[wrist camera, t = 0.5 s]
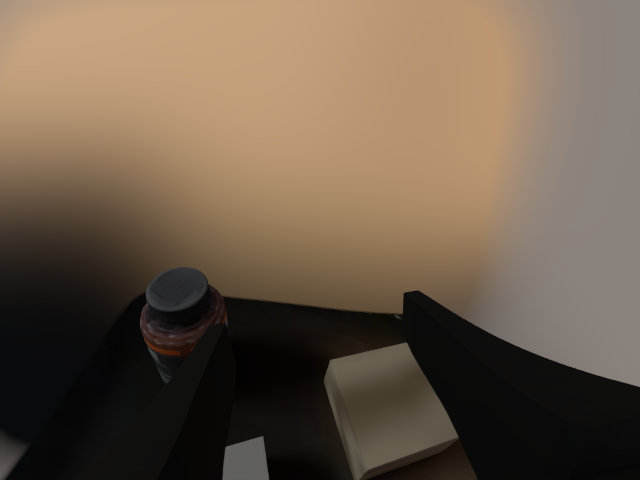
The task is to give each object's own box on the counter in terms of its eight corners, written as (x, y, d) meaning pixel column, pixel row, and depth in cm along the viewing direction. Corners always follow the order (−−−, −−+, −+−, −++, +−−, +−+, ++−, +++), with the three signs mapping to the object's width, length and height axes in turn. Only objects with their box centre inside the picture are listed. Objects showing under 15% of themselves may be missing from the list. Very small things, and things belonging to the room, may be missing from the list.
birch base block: (441, 451, 25) (462, 435, 23) (355, 484, 23) (367, 469, 20) (397, 363, 31) (409, 341, 29) (323, 381, 29) (330, 359, 26)
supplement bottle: (240, 344, 30) (236, 265, 23) (217, 407, 26) (203, 332, 19) (182, 333, 30) (159, 250, 23) (149, 393, 26) (107, 314, 19)
